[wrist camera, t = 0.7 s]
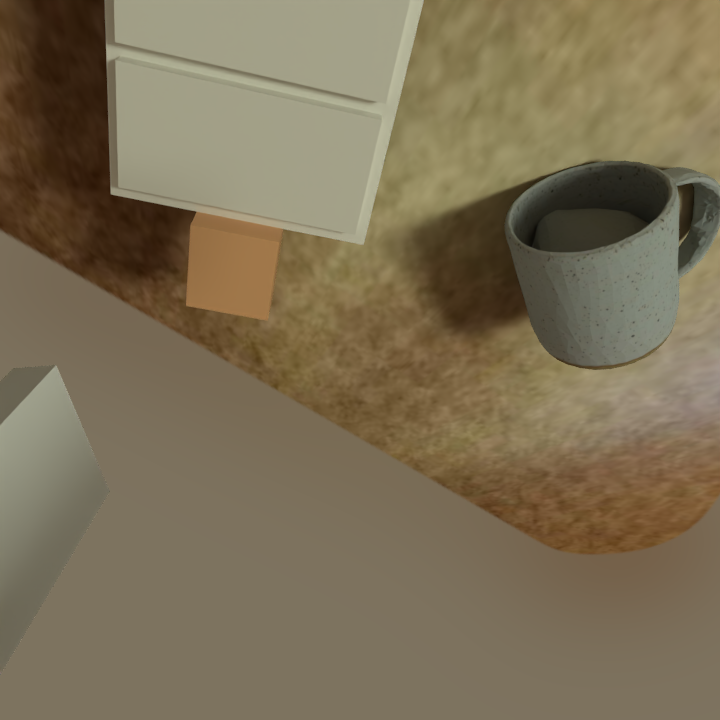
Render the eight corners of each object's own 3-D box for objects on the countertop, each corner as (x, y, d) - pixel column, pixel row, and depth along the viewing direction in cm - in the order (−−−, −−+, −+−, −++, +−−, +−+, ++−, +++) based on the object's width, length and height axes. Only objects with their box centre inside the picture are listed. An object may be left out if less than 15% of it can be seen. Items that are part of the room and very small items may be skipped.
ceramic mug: (525, 314, 38) (557, 402, 32) (490, 193, 33) (520, 270, 27) (713, 256, 35) (786, 338, 29) (705, 116, 31) (790, 181, 25)
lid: (107, -164, 20) (85, -164, 18) (439, -76, 21) (445, -69, 19) (118, 267, 29) (104, 291, 28) (345, 309, 31) (344, 334, 29)
